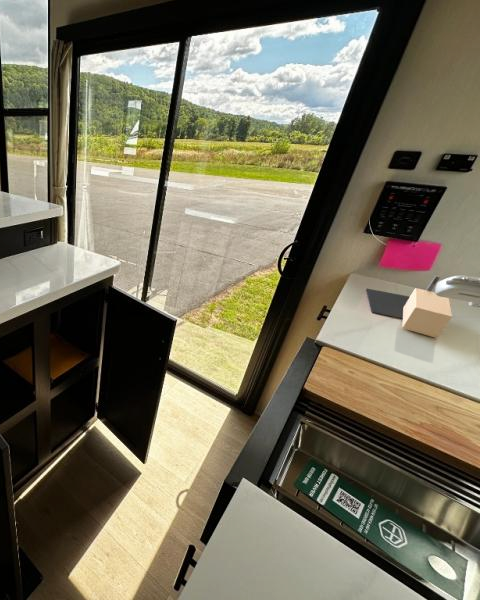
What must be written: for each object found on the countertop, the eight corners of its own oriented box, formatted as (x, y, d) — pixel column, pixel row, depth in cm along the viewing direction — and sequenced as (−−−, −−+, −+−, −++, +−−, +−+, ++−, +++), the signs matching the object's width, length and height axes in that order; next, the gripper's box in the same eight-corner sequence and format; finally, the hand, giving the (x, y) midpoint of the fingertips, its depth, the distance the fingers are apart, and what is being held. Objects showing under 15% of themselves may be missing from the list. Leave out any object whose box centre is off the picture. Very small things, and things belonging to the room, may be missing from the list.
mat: (411, 298, 124) (411, 296, 124) (423, 324, 110) (423, 322, 110) (366, 289, 131) (366, 288, 131) (371, 312, 117) (372, 311, 116)
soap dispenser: (402, 328, 108) (403, 301, 122) (437, 338, 103) (434, 309, 117) (422, 296, 101) (421, 271, 115) (460, 305, 96) (455, 278, 110)
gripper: (451, 289, 72) (419, 304, 85) (594, 314, 63) (534, 327, 75) (457, 264, 73) (424, 283, 85) (599, 285, 64) (539, 303, 76)
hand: (477, 304), depth 80 cm, fingers closed
